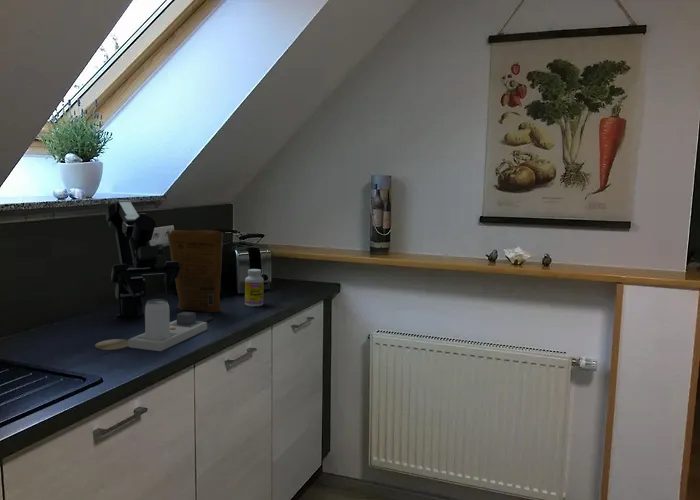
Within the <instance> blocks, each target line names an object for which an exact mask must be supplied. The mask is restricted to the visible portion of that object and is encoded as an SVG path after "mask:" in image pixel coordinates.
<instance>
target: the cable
mask: <svg viewBox="0 0 700 500" xmlns="http://www.w3.org/2000/svg"><path fill="white" fill-rule="evenodd" d="M211 320H213V316H209V317H208V318H205V319H203V320H202V321H203V322H207V323H209V322H210V321H211Z"/></svg>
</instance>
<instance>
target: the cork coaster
mask: <svg viewBox="0 0 700 500" xmlns="http://www.w3.org/2000/svg"><path fill="white" fill-rule="evenodd" d="M94 345H95V349H98V350H101V351H115V350H116V351H117V350H123V349H125V348H129V340H128V339H123V338H120V339H119V338H117V339H116V338H114V339H113V338H112V339H105V340H102V341H99V342H97V343H95V344H94Z"/></svg>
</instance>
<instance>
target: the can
mask: <svg viewBox="0 0 700 500" xmlns="http://www.w3.org/2000/svg"><path fill="white" fill-rule="evenodd" d="M168 301H169V300H167V299H163V298H153V299H149V300H147V301H146V304H145V306H144V323H145V324H144V326H145V327H144V329H145V331H144V333H145V339H150V340H158V341H163V340H165V339H167V338H169V337H170V322H171V321H170V318H171V317H170V305H169V303H168Z"/></svg>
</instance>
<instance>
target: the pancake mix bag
mask: <svg viewBox="0 0 700 500" xmlns="http://www.w3.org/2000/svg"><path fill="white" fill-rule="evenodd" d="M167 233H168V234H167V239H168V245H169V251H170V259H171V260H170V261H178V262H179V264H180V270H179V274H178V277H177V278H175V279H174V280H175V289H176V292H177V297H178V302H177V309H179V310H180V311H186V312H203V313H218V312H222V308H221V299H220V298H221V297H220V295H221V294H220V291H221V276H222V269H223V267H222V265H223V264H222V263H223V247H224V245H223V244H224V243H223V242H224V241H223V239H224V232H222V231H220V230H209V229H207V230H206V229H198V230H197V229H194V230H192V229H191V230H186V229H184V230H183V229H182V230H181V229H180V230H178V229H173V230H171V232H167Z"/></svg>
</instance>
